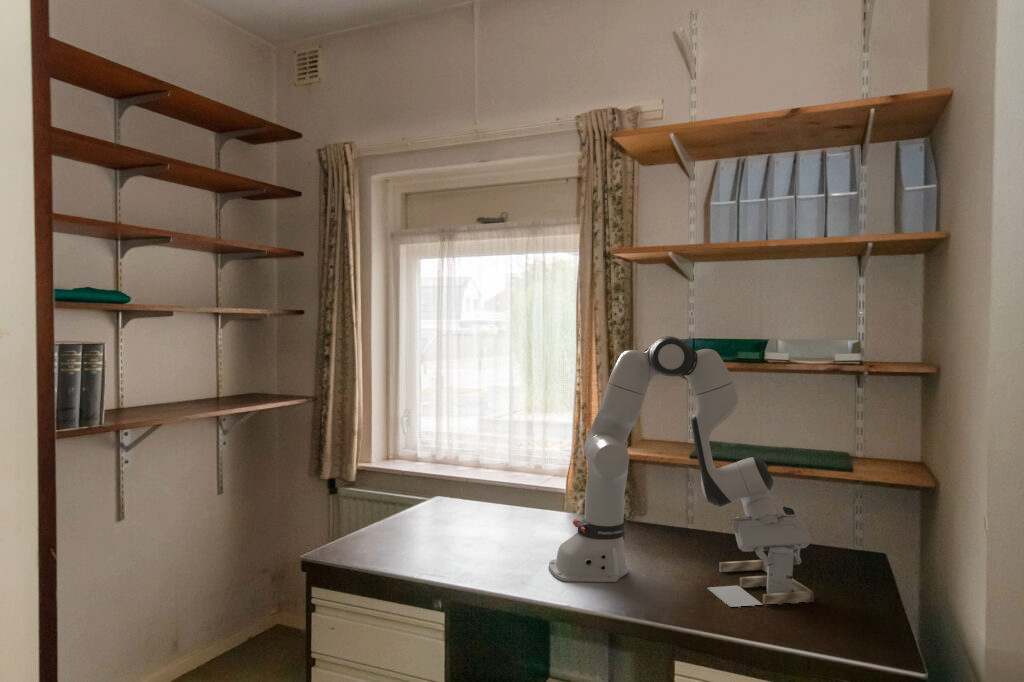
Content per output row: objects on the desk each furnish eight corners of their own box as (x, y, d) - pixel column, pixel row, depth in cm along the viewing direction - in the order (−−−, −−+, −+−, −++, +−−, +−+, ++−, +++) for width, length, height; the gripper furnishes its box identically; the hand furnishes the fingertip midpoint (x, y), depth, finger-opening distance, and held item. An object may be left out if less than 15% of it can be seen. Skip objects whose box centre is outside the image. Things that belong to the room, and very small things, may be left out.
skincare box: (767, 595, 175) (768, 549, 175) (766, 588, 179) (767, 544, 179) (792, 598, 173) (794, 552, 173) (790, 592, 178) (792, 547, 177)
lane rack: (764, 605, 169) (765, 595, 169) (719, 570, 191) (719, 562, 191) (813, 601, 172) (814, 592, 172) (763, 568, 194) (763, 559, 194)
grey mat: (730, 608, 167) (730, 606, 167) (707, 588, 179) (707, 587, 179) (762, 605, 169) (763, 604, 169) (737, 586, 181) (737, 585, 181)
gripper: (733, 512, 180) (752, 561, 170) (801, 509, 184) (823, 556, 174) (724, 523, 184) (742, 571, 175) (791, 520, 188) (812, 567, 179)
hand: (783, 564), depth 175 cm, fingers closed on skincare box, 7 cm apart
